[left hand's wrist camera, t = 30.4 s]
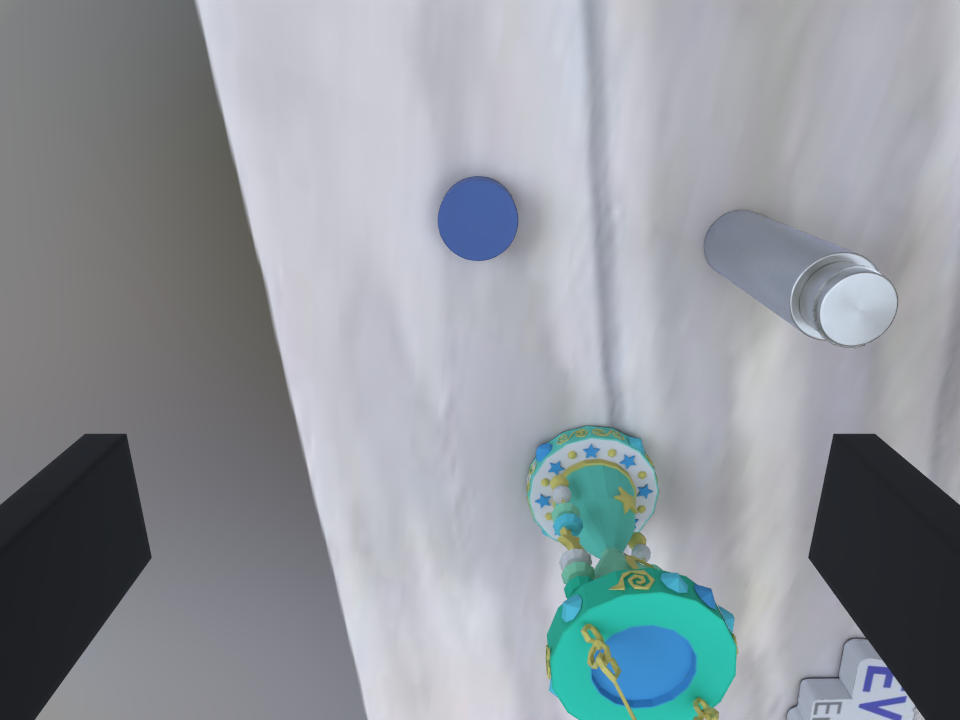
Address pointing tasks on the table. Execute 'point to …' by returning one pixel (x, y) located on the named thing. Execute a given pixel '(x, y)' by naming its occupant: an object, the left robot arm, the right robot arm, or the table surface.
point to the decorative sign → (855, 690)
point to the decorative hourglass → (622, 591)
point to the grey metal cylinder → (803, 278)
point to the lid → (477, 218)
